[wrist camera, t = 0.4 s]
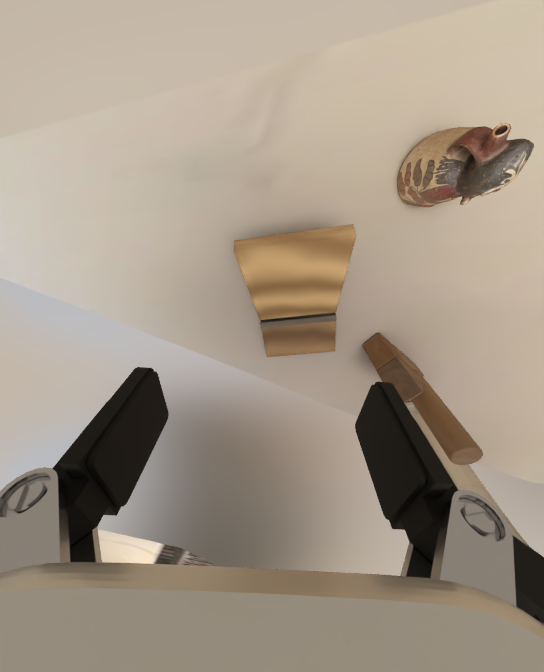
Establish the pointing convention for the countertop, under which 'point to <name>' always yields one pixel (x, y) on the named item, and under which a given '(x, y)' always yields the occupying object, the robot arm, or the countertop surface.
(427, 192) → the figurine
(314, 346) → the brown flat block
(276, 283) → the oak plank
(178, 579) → the robot arm
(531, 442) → the countertop surface
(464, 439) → the wooden block stack
